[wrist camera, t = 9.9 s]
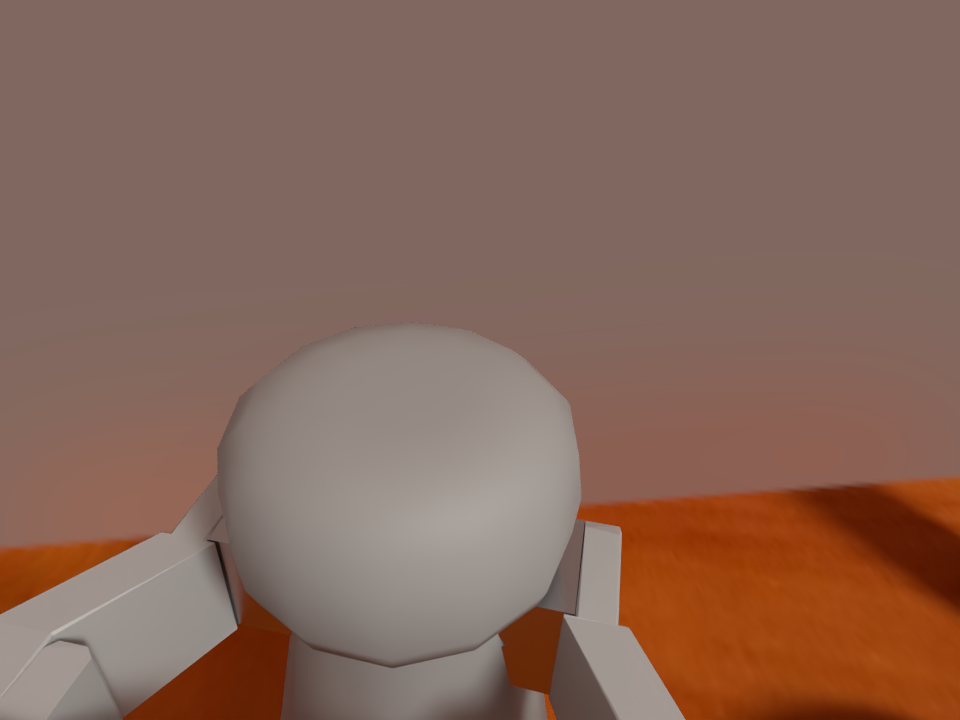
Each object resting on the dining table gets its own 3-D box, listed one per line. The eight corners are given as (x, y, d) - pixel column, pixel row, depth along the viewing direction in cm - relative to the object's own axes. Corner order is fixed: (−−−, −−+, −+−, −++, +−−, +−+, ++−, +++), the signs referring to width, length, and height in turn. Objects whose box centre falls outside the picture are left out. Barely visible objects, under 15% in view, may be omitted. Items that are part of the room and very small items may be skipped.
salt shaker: (314, 714, 17) (221, 260, 10) (534, 715, 17) (608, 270, 10) (255, 1030, 12) (-11, 611, 5) (561, 1026, 13) (740, 616, 5)
